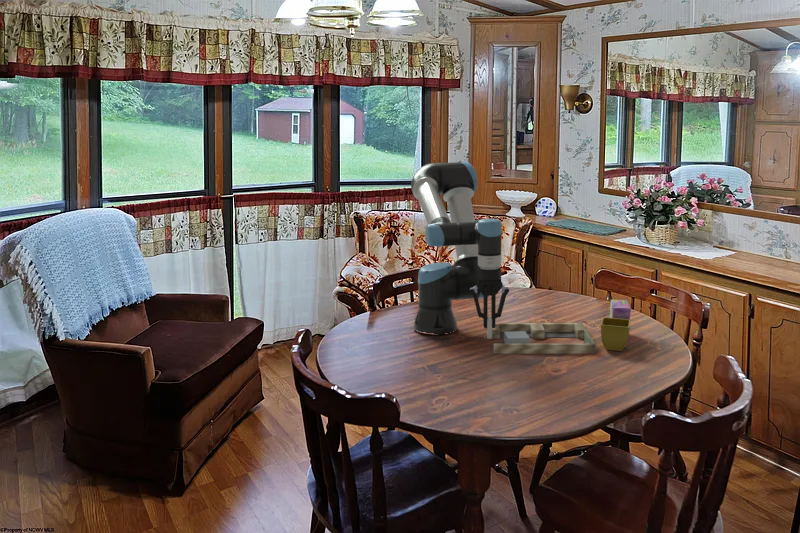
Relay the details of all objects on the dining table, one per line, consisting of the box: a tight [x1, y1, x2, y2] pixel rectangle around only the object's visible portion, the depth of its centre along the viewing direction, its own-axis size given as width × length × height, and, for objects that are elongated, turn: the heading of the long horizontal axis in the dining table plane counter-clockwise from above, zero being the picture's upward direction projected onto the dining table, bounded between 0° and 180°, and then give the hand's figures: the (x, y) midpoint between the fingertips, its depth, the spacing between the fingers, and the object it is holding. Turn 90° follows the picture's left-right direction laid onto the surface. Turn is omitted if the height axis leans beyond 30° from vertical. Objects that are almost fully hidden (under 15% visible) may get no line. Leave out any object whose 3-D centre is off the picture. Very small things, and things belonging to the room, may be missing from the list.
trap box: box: [491, 322, 597, 355], centre depth 246 cm, size 32×23×3 cm
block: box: [503, 331, 531, 344], centre depth 243 cm, size 7×7×4 cm
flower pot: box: [600, 317, 631, 352], centre depth 238 cm, size 9×9×9 cm
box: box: [609, 299, 631, 343], centre depth 249 cm, size 10×6×12 cm, turn 168°
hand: (489, 337), depth 243 cm, fingers closed
